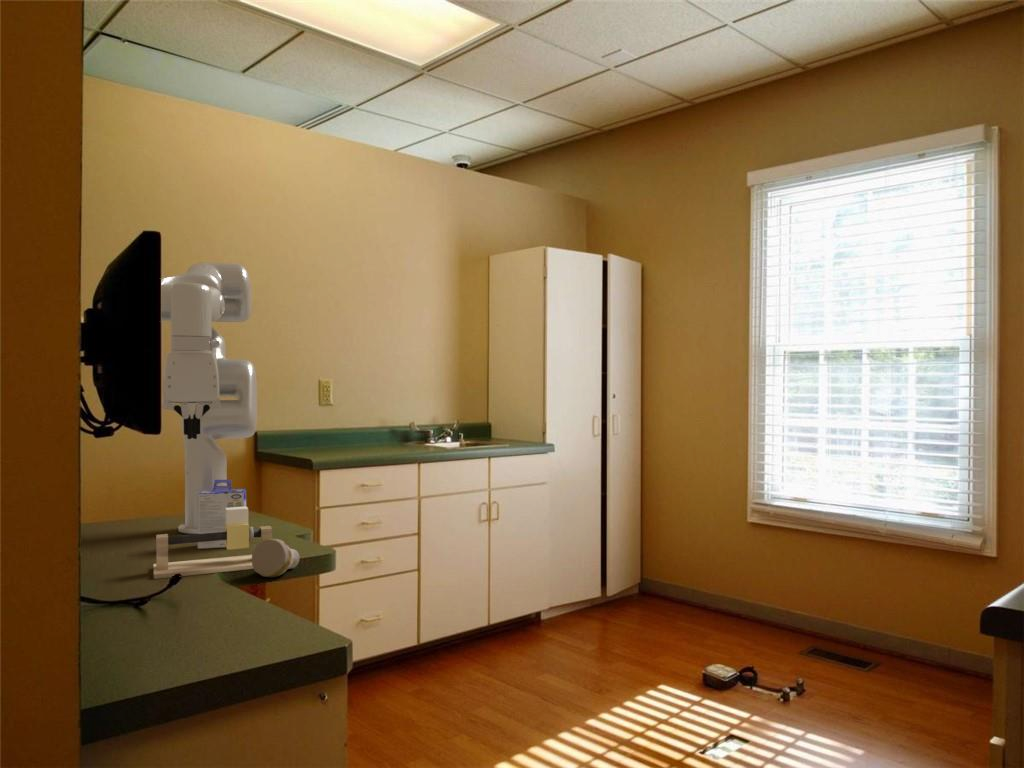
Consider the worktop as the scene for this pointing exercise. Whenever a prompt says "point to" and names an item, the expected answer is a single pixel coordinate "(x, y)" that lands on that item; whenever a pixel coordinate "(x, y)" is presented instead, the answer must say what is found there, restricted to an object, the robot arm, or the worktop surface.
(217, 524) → the ink cartridge box
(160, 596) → the worktop surface
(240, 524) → the sleeve
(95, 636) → the worktop surface
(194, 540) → the roller holder rack
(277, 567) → the mug
